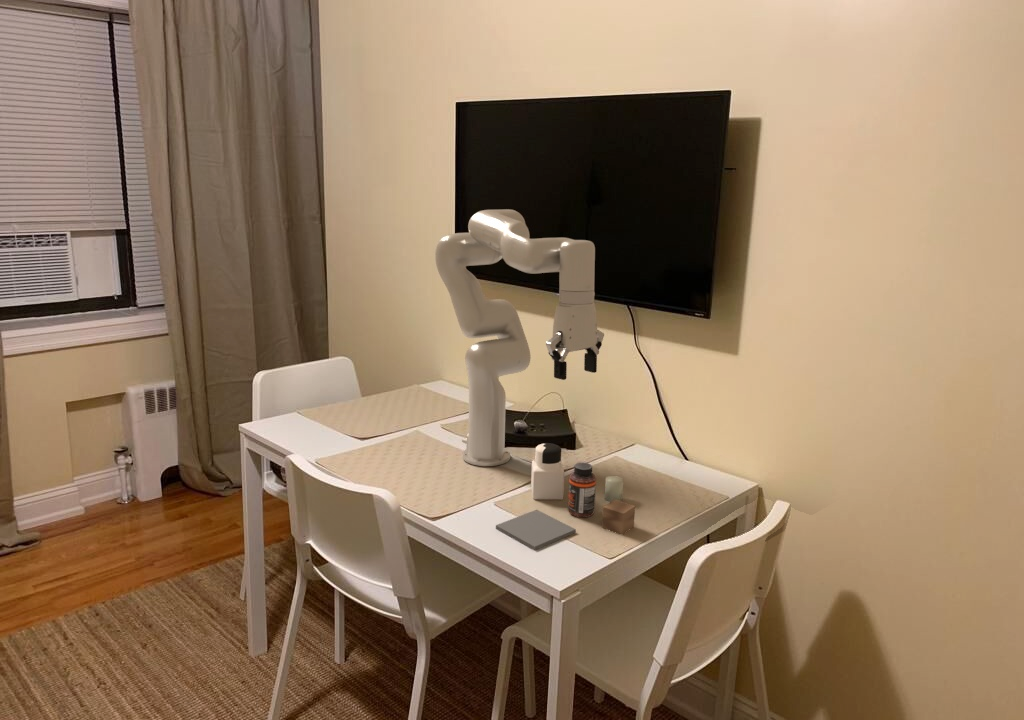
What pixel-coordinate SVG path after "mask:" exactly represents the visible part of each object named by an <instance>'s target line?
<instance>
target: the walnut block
mask: <svg viewBox="0 0 1024 720" xmlns="http://www.w3.org/2000/svg"><path fill="white" fill-rule="evenodd" d="M635 514H636V505H633V504H630V503H628V502H625V501H623V500H622V501H619V500H616V499H615V500H613V501H612V502H607V503H606V505H604V506H602V520H601V529H604V530H608V531H609V530H610V532H612V531H613V533H615V532H616V533H615V534H618V535H620V534H623V535H624V534H626V533H627V532H629V531H630V530H632V529H633V528H634V527H635V516H636V515H635ZM632 527H633V528H632ZM629 529H630V530H629ZM628 530H629V531H628ZM626 531H627V532H626ZM625 532H626V533H625Z"/></svg>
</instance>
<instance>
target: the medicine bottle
mask: <svg viewBox="0 0 1024 720" xmlns="http://www.w3.org/2000/svg"><path fill="white" fill-rule="evenodd" d="M534 456H535V457H534V458H535V459H533V460H532V461H531V474H530V475H531V476H530V477H531V478H530V488H531V497H532V499H533V500H550V501H551V500H560V501H561V500H563V499H564V487H565V486H564V485H565V470H564V466H563V462H562V448H561V446H560V445H558V444H555V443H552V442H551V443H549V442H545V443H541V444H538V445H537V446H535V454H534Z"/></svg>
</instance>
